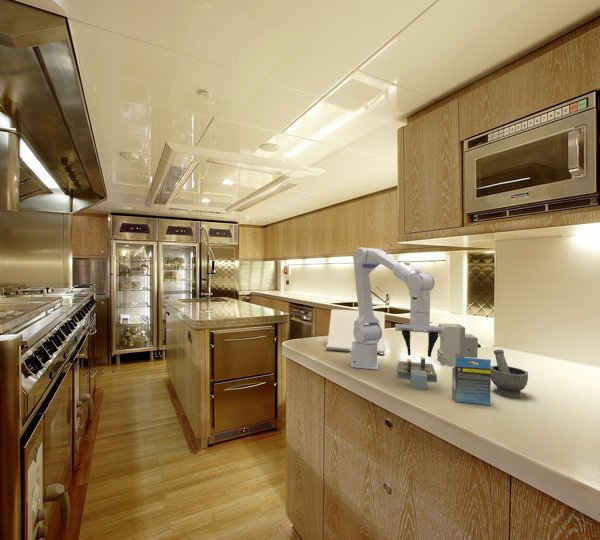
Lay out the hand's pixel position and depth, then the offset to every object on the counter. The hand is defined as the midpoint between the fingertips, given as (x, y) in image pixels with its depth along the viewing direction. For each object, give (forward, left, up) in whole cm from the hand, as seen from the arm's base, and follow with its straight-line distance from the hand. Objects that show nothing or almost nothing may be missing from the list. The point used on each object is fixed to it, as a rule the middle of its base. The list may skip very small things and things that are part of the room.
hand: (419, 355), depth 101 cm
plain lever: (+2, +16, -7) cm, 18 cm away
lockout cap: (0, 0, -9) cm, 9 cm away
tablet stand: (-24, +42, -10) cm, 50 cm away
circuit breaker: (+17, +32, -10) cm, 37 cm away
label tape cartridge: (+13, -8, -10) cm, 18 cm away
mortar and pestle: (+25, +3, -10) cm, 27 cm away
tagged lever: (-2, +10, -7) cm, 12 cm away
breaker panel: (0, +13, -9) cm, 16 cm away
